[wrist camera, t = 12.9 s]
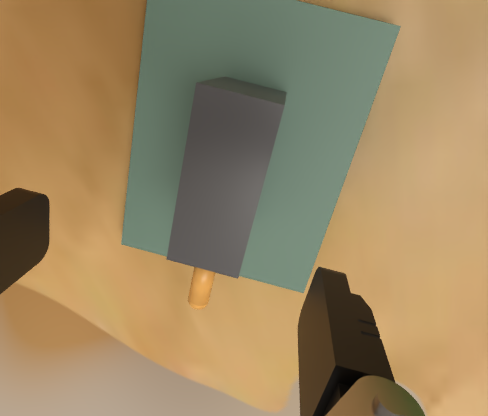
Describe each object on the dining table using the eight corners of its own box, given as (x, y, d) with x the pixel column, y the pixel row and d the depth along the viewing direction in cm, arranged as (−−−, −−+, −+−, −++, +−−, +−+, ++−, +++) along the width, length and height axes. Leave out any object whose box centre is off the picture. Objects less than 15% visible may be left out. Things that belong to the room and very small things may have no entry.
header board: (160, -30, 21) (118, -59, 16) (393, 28, 21) (426, 17, 16) (129, 235, 28) (94, 273, 23) (302, 281, 28) (305, 330, 23)
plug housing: (224, 76, 21) (196, 82, 15) (286, 92, 21) (284, 105, 15) (190, 252, 26) (157, 314, 20) (240, 266, 26) (223, 333, 20)
